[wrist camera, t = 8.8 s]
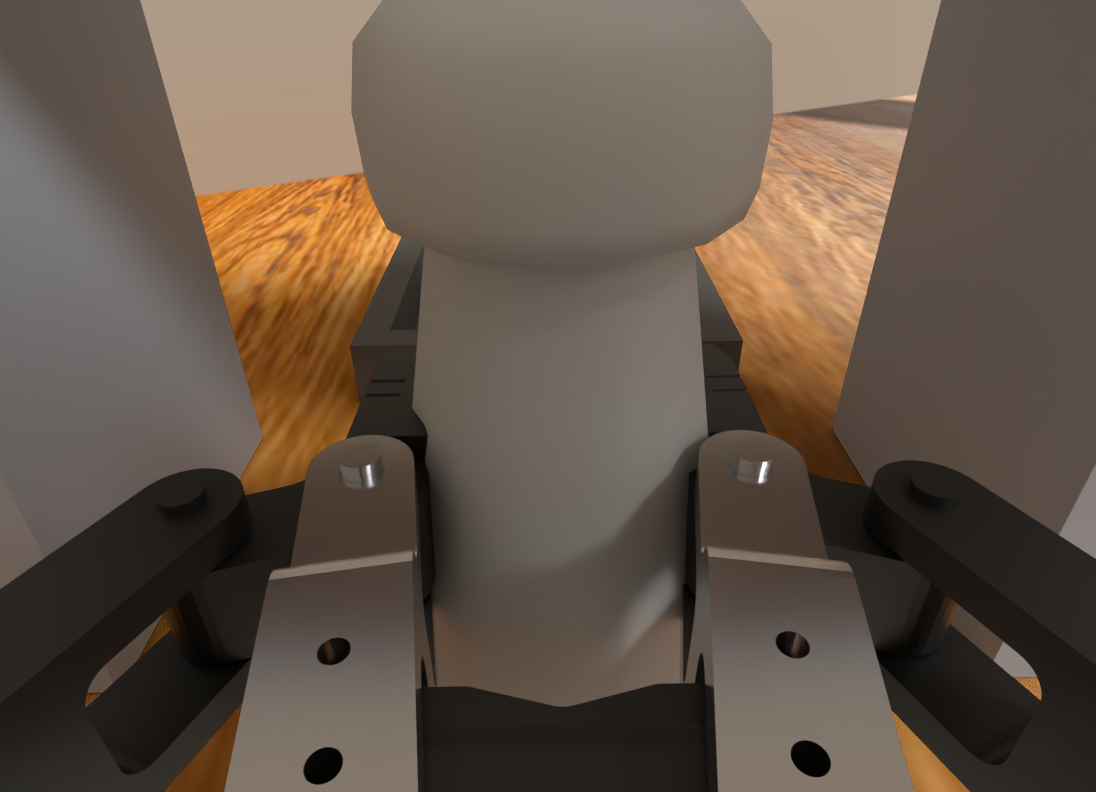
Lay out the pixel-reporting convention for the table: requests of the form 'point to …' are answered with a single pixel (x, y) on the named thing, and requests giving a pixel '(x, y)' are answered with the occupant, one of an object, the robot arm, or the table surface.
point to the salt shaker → (560, 308)
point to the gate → (875, 363)
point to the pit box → (399, 307)
